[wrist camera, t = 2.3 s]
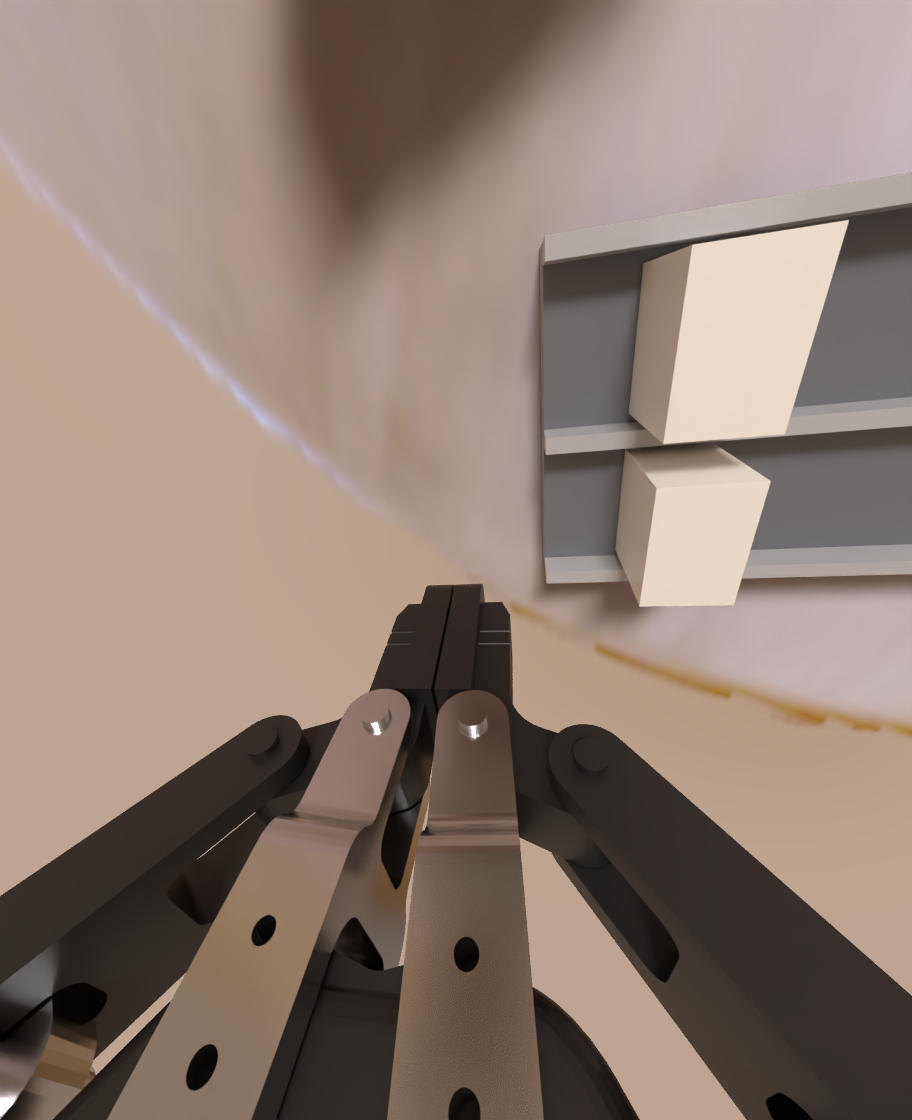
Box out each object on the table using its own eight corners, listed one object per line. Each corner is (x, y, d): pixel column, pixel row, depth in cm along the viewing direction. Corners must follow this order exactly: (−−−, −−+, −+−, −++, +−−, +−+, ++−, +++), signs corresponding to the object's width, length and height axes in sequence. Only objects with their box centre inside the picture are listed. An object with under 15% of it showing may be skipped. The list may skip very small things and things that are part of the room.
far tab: (711, 441, 15) (770, 481, 11) (689, 546, 17) (733, 605, 13) (625, 448, 15) (656, 488, 12) (615, 549, 17) (639, 606, 14)
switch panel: (1259, 131, 11) (1510, 69, 8) (1000, 528, 17) (1092, 569, 14) (539, 250, 14) (544, 235, 11) (542, 546, 20) (546, 583, 17)
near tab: (752, 246, 12) (848, 219, 8) (719, 404, 14) (784, 434, 11) (643, 263, 12) (692, 244, 9) (628, 412, 14) (663, 443, 11)
